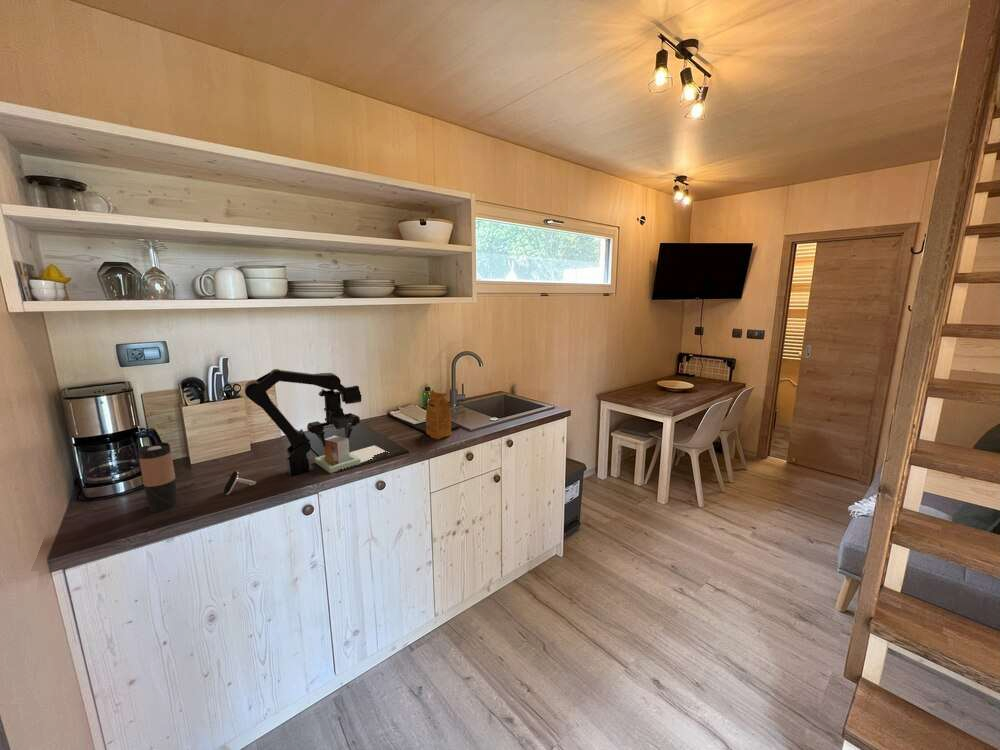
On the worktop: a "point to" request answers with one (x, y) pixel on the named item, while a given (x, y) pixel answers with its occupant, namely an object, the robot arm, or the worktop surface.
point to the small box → (336, 450)
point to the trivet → (367, 453)
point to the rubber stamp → (233, 480)
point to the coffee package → (438, 416)
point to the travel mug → (158, 476)
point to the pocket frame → (334, 468)
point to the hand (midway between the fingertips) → (335, 444)
